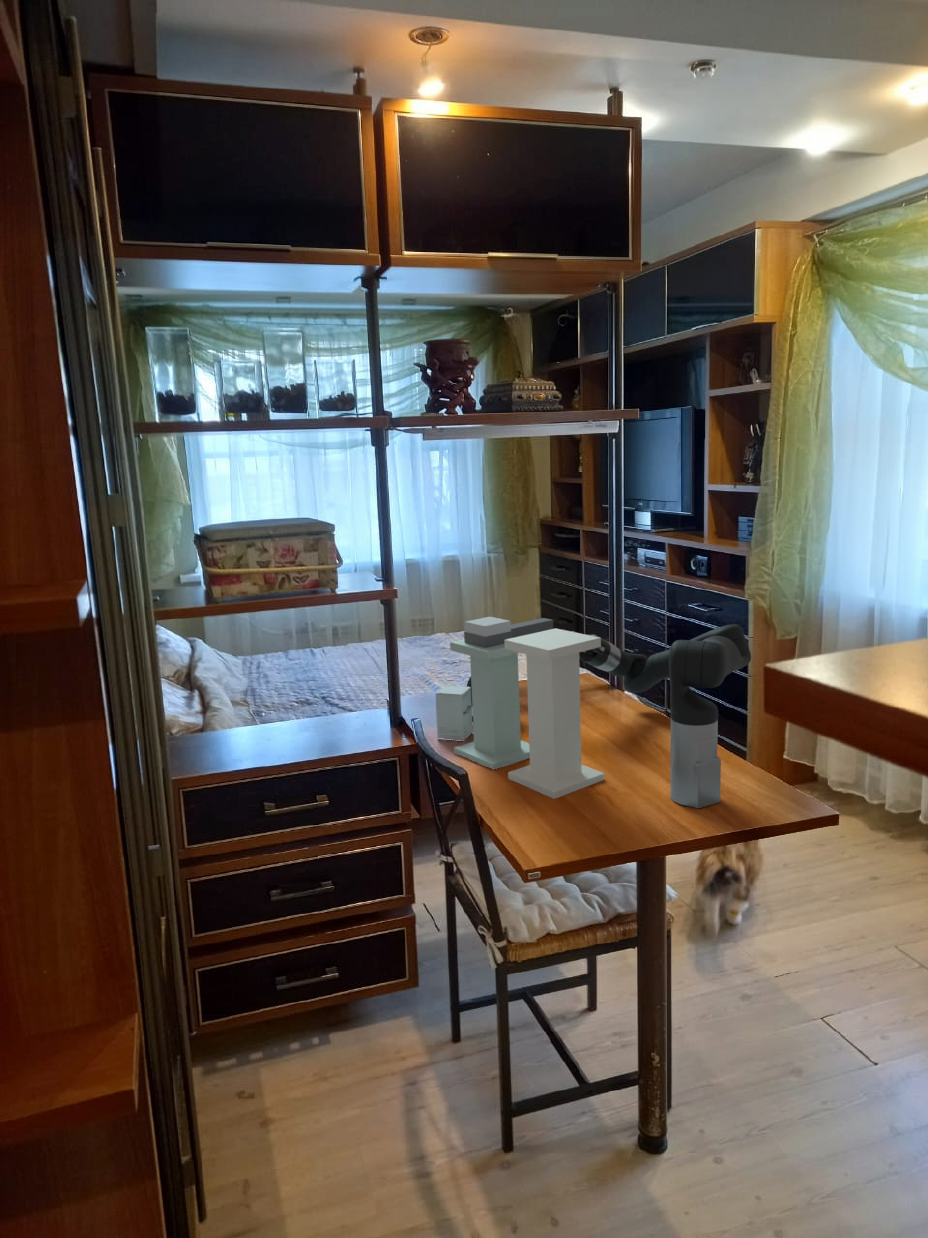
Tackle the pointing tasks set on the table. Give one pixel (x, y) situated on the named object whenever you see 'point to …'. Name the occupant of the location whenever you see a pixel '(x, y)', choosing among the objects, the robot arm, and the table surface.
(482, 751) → the low pedestal
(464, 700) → the supplement box
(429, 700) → the table surface
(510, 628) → the block
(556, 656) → the tall pedestal
